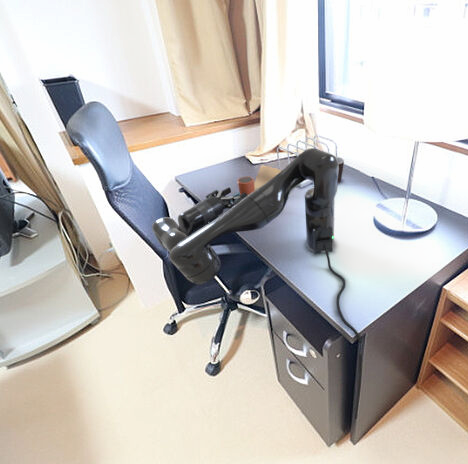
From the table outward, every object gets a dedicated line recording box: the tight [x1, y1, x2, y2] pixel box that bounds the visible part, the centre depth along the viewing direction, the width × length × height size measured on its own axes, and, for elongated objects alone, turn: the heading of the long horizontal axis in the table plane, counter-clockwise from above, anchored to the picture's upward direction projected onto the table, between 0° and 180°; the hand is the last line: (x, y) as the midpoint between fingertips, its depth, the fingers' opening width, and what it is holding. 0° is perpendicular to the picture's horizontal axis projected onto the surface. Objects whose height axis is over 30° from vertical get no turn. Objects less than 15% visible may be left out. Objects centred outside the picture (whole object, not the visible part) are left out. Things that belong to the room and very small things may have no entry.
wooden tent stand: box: [254, 164, 283, 190], centre depth 139 cm, size 10×12×9 cm
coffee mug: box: [335, 156, 345, 184], centre depth 147 cm, size 12×9×10 cm
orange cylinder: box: [236, 176, 255, 196], centre depth 130 cm, size 12×6×12 cm
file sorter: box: [276, 134, 338, 188], centre depth 151 cm, size 25×17×16 cm
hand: (238, 192), depth 125 cm, fingers open, 8 cm apart
